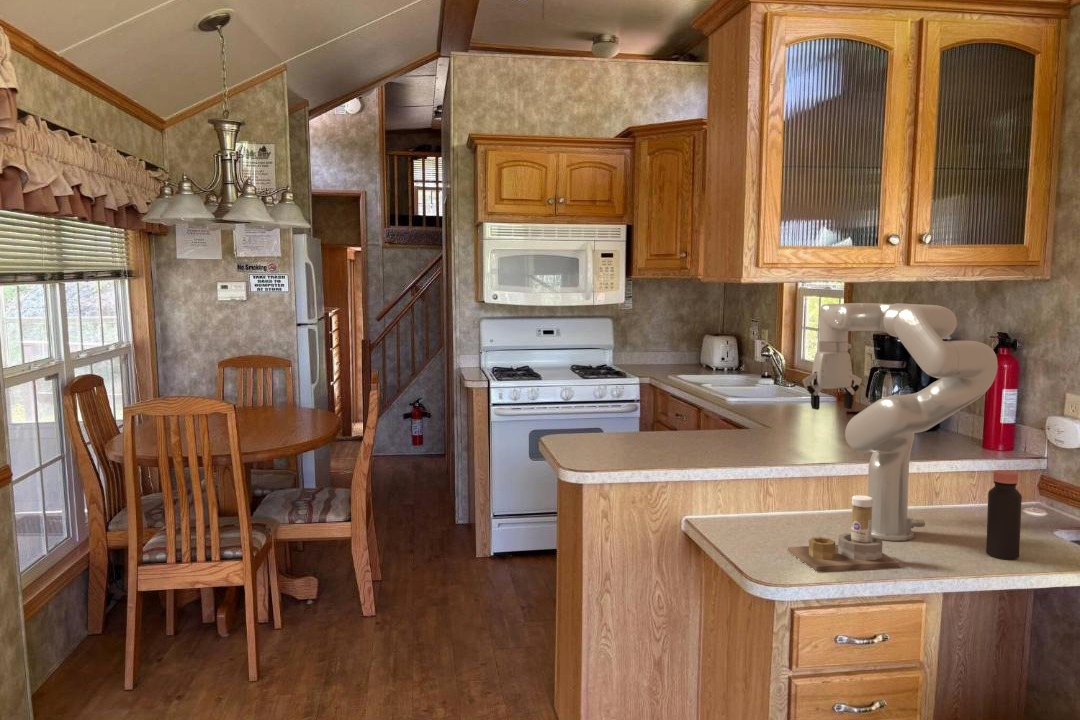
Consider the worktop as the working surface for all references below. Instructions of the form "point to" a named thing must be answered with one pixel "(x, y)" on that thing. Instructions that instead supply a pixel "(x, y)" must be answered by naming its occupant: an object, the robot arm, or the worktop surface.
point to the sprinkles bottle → (861, 519)
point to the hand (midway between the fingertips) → (831, 408)
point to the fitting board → (843, 554)
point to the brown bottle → (1004, 517)
